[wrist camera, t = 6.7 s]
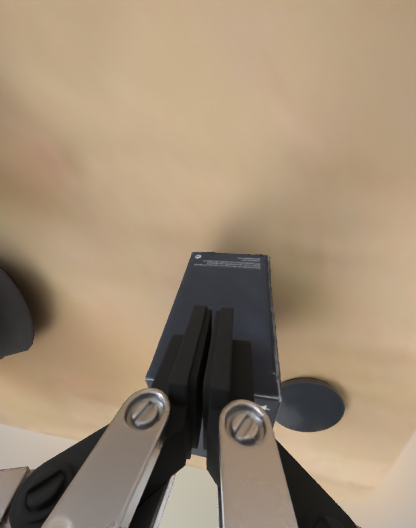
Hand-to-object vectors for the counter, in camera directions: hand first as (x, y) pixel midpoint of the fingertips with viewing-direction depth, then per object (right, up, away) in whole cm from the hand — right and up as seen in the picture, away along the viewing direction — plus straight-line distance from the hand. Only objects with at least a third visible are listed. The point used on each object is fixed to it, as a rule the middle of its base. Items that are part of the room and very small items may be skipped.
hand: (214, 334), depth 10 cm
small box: (+2, 0, +11) cm, 11 cm away
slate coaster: (+11, -13, +16) cm, 23 cm away
